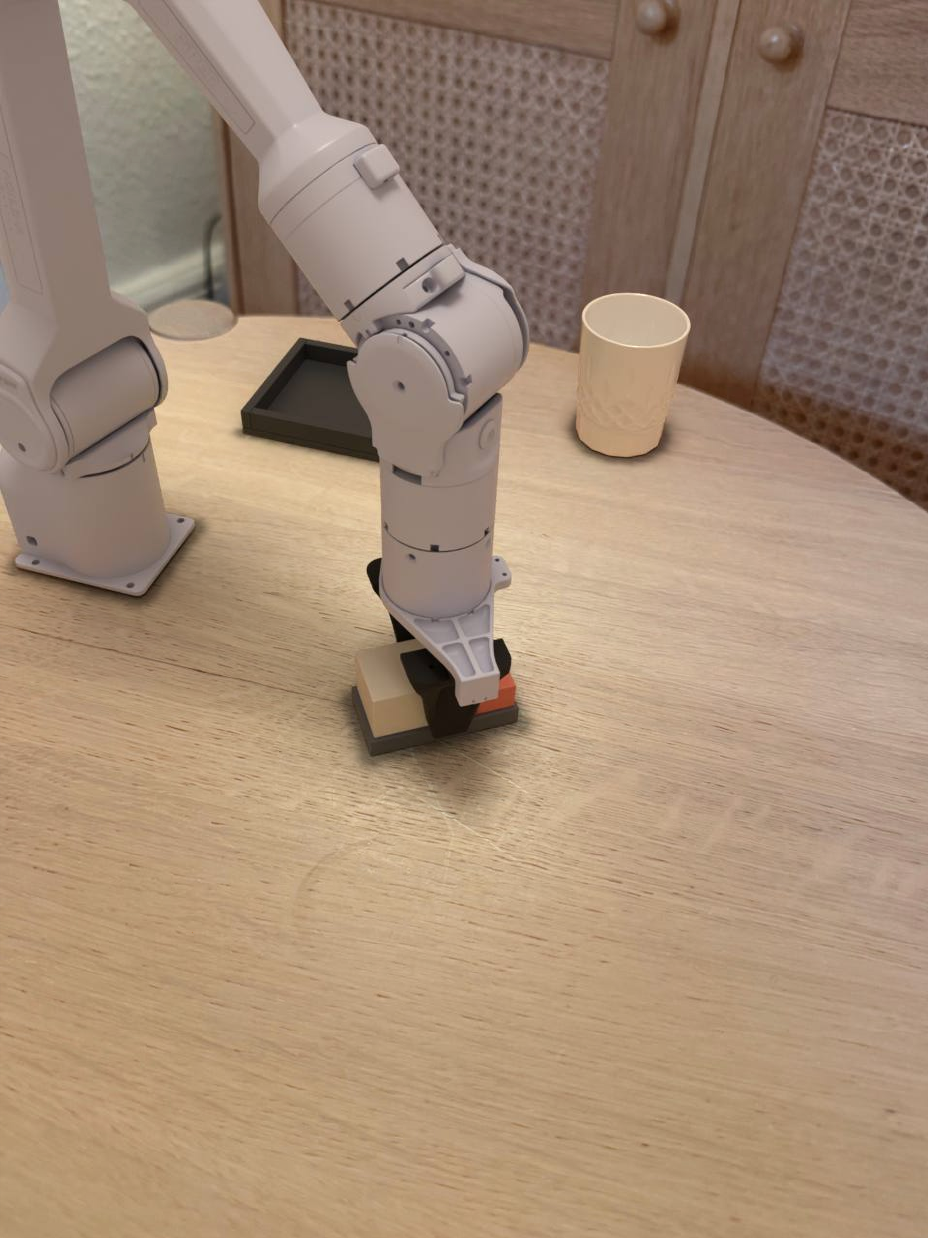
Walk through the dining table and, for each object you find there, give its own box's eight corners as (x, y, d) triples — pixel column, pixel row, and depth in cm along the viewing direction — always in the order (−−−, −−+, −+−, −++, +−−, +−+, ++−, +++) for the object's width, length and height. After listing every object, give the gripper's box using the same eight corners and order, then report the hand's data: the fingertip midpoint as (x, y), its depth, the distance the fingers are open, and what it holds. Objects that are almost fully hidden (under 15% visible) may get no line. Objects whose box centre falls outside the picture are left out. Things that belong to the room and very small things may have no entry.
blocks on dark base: (370, 756, 62) (368, 706, 59) (351, 699, 65) (348, 649, 62) (517, 721, 64) (523, 671, 61) (492, 668, 67) (496, 617, 64)
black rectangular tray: (242, 433, 84) (239, 410, 83) (301, 358, 92) (299, 336, 91) (433, 473, 81) (434, 450, 80) (476, 392, 89) (478, 370, 88)
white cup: (684, 425, 87) (707, 312, 80) (641, 475, 82) (662, 358, 75) (597, 394, 90) (612, 282, 82) (550, 440, 85) (562, 325, 78)
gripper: (566, 595, 50) (542, 773, 60) (468, 422, 60) (460, 599, 69) (420, 625, 48) (420, 804, 58) (343, 442, 58) (353, 621, 68)
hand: (434, 695), depth 64 cm, fingers open, 5 cm apart
